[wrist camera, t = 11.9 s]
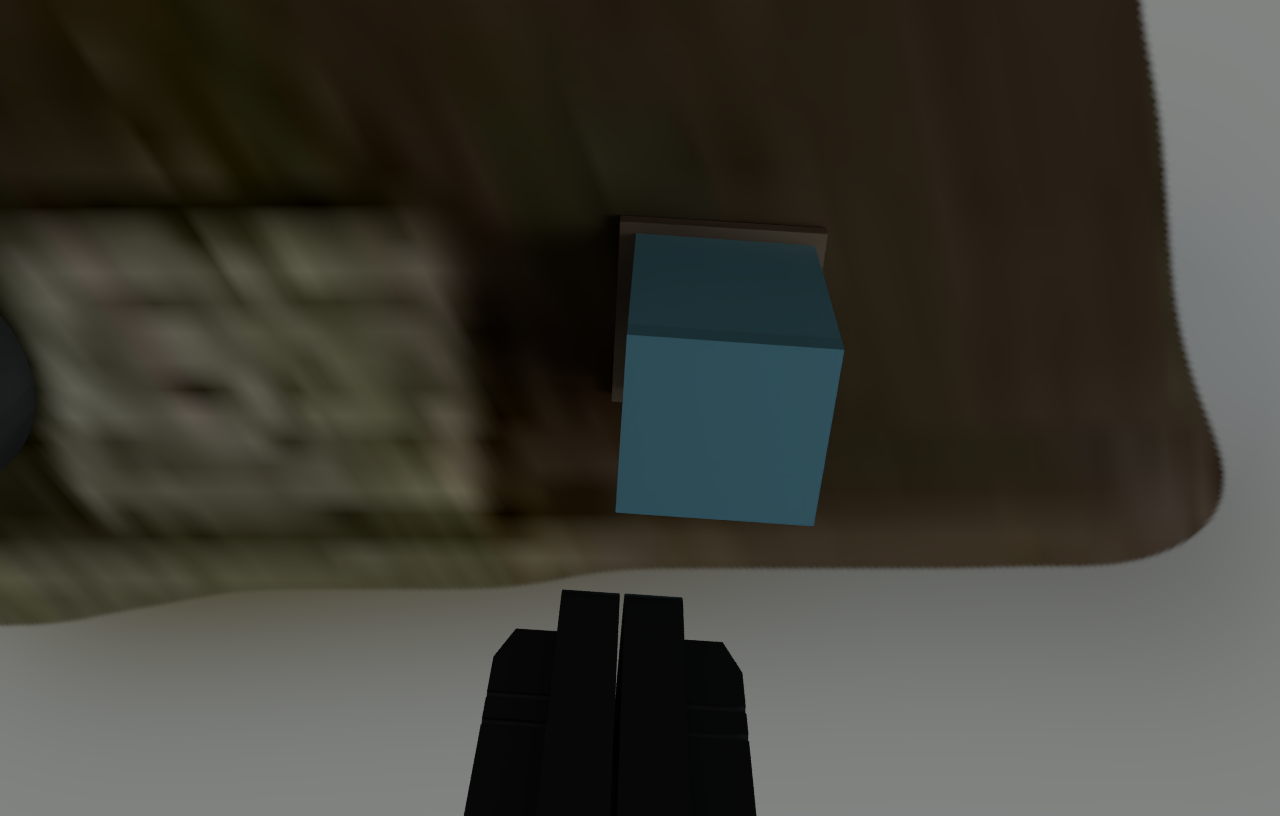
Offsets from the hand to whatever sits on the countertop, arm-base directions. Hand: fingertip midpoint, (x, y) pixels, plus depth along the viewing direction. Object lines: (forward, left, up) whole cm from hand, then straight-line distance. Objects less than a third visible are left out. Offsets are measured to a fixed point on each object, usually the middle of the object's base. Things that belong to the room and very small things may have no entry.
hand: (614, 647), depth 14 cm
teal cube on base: (-2, -5, -20) cm, 21 cm away
